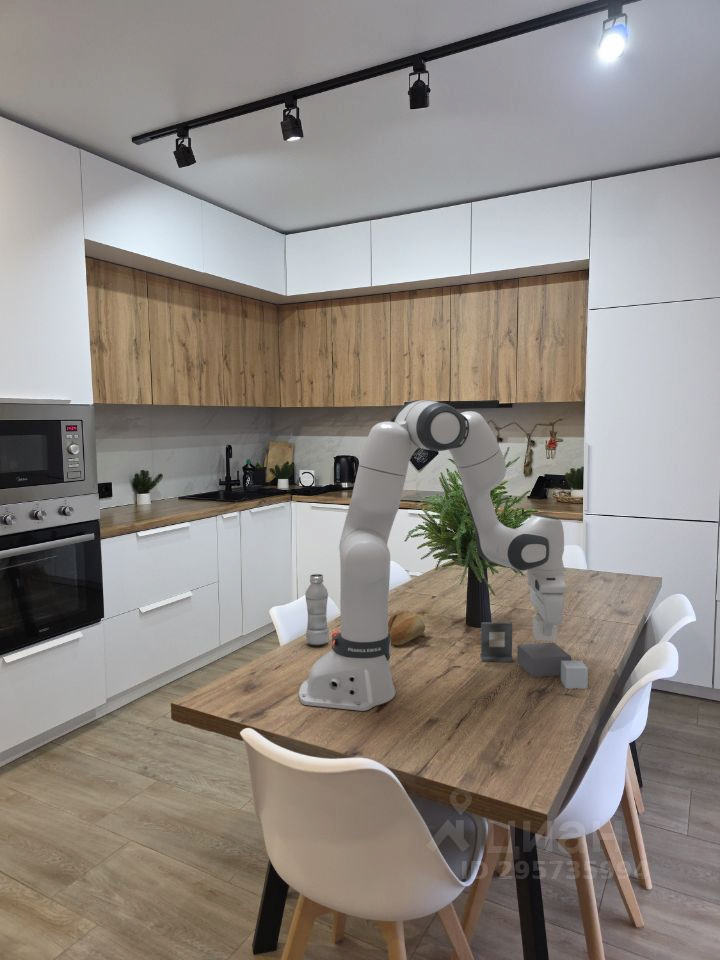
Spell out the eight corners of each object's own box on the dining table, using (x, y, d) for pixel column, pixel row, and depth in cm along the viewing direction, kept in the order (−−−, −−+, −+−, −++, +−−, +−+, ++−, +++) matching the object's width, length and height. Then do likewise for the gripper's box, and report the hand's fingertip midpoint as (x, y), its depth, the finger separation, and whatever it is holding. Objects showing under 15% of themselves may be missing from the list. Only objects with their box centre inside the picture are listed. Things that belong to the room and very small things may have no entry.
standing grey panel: (482, 661, 172) (482, 625, 171) (480, 656, 176) (480, 620, 175) (512, 661, 172) (513, 625, 171) (510, 656, 176) (510, 620, 175)
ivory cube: (536, 640, 164) (537, 621, 164) (532, 633, 169) (533, 615, 169) (557, 640, 164) (557, 621, 164) (552, 634, 169) (552, 615, 168)
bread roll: (378, 645, 186) (377, 617, 185) (402, 630, 199) (402, 604, 198) (408, 650, 181) (408, 622, 180) (431, 635, 194) (431, 609, 193)
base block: (532, 678, 162) (532, 658, 161) (517, 663, 172) (517, 644, 171) (570, 675, 163) (571, 656, 163) (553, 660, 173) (553, 642, 173)
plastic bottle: (334, 643, 187) (333, 575, 185) (316, 650, 182) (315, 579, 180) (318, 638, 191) (317, 571, 189) (301, 644, 186) (300, 575, 184)
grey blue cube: (566, 688, 155) (566, 668, 154) (560, 680, 160) (561, 660, 159) (587, 689, 155) (588, 668, 154) (581, 680, 160) (581, 660, 159)
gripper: (524, 568, 176) (524, 618, 177) (541, 588, 155) (540, 644, 157) (548, 568, 175) (547, 618, 177) (568, 588, 155) (567, 644, 156)
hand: (544, 631), depth 166 cm, fingers closed on ivory cube, 5 cm apart
